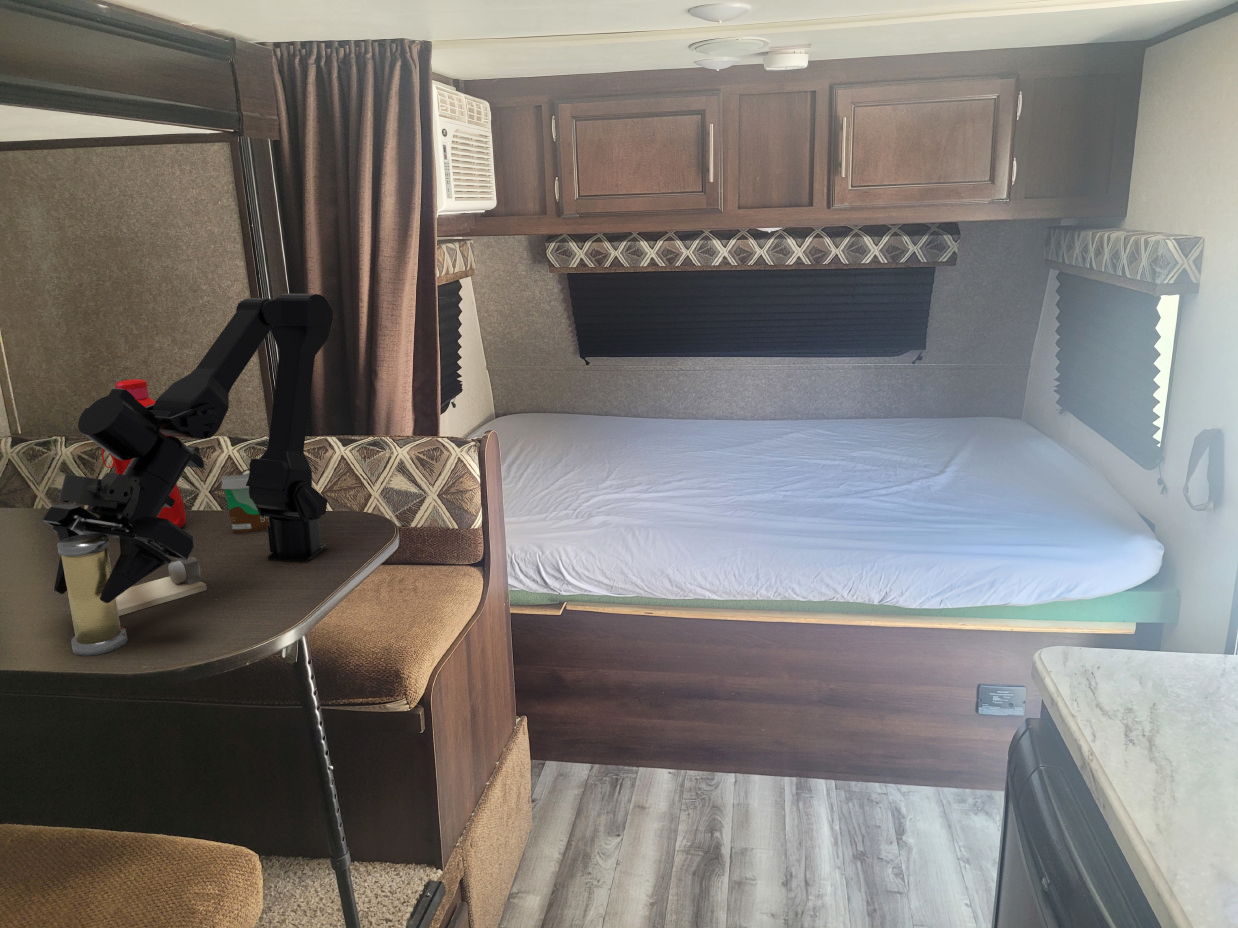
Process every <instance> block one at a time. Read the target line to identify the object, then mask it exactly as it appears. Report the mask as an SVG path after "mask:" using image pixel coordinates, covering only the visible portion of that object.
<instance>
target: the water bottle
mask: <svg viewBox="0 0 1238 928" xmlns="http://www.w3.org/2000/svg"><path fill="white" fill-rule="evenodd" d="M149 386H150V384H147V380H144V379H138V378H133V379H125V380H120V381H118V382H116V383H115V389H126V390H127V391H128V392H130V393H131V394H132V395H133V396H134V398H135V399H136V400H137V401H138V402H139V403H141V404H142V405H143V406H144V407H147V406H150V405H153V404H155V402H156V400H154V399H152V398H150V397H149V391H148V390H149V389H148V387H149ZM161 433H162V432H161ZM162 434H163V433H162ZM164 435H165V434H164ZM165 436H167V435H165ZM100 449H101V459H102V460H101V461H102V464H103V465H104V467H105V468H108V469H111V468H113V467H114V470H115V473H116V474H122V475H123V474H124V472H125V470H126V469H127V467H128V465H129V464H130V462H131V460H132V459H133V458H132V459H129V460H119V459H117V458H116V457H114V456H113V455H111V454H110V453H109V455H110V458H111V460H112V464H111V465H110V466H107V463H106V461H105V457H104V449H103V448H102V447H100ZM170 497H171V498H172V499H174V500H175V503H174V505H173V506H172V508H170V507H163V508H162V510H161V512H160V513H159V515H158V517H157V518H163V519H168V520H169V521H171V522H172V523H174V524H175V525H177V526H178V527H180V528H181V529H182V527H183V526H184V525H185V524H186V523H187V522H186V520H187V514H186V513H187V512H186V508H185V503H184V499H183V496H182V495H181V492H180V489H179V486H178V483H177V484H176V485H175V487H174V489H173V491H172V493H171V494H170Z"/></svg>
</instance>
